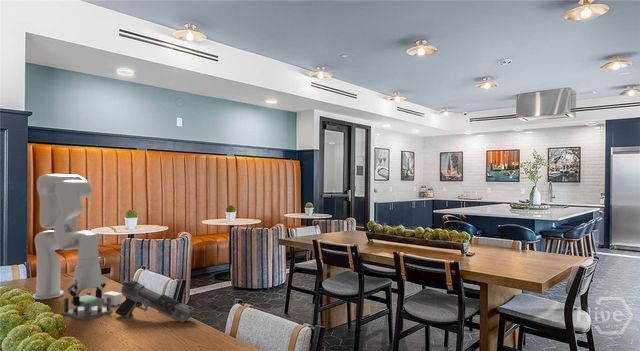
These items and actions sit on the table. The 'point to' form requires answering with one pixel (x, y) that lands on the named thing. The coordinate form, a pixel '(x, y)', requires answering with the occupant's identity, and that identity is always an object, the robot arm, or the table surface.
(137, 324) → the table surface
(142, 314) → the table surface
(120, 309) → the firearm
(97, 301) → the board
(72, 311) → the chassis
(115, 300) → the riser
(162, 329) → the table surface
